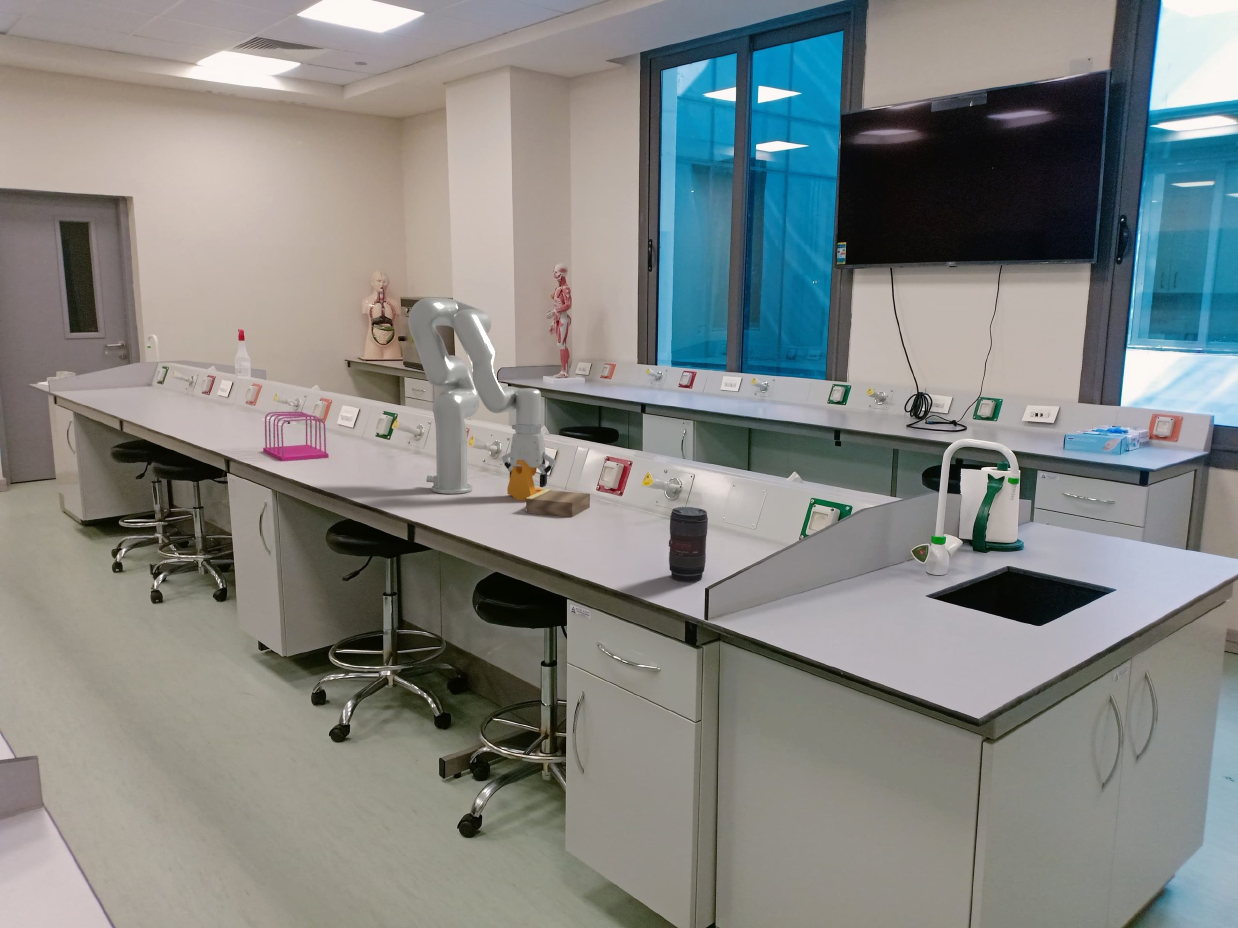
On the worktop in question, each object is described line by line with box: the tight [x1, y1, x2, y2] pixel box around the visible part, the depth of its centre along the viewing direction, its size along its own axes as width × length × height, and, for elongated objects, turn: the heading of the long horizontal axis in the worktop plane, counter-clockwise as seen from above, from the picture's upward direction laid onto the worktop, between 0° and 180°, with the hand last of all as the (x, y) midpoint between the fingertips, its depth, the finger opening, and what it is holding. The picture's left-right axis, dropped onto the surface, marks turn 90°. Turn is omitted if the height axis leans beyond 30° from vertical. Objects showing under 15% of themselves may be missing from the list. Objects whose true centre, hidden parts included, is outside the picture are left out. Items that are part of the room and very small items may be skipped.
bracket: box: [507, 460, 546, 502], centre depth 274 cm, size 11×7×12 cm, turn 46°
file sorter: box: [262, 411, 330, 462], centre depth 342 cm, size 17×25×16 cm
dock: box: [525, 488, 591, 518], centre depth 259 cm, size 14×14×4 cm
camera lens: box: [668, 506, 709, 583], centre depth 195 cm, size 8×8×15 cm
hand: (528, 485), depth 275 cm, fingers open, 9 cm apart
